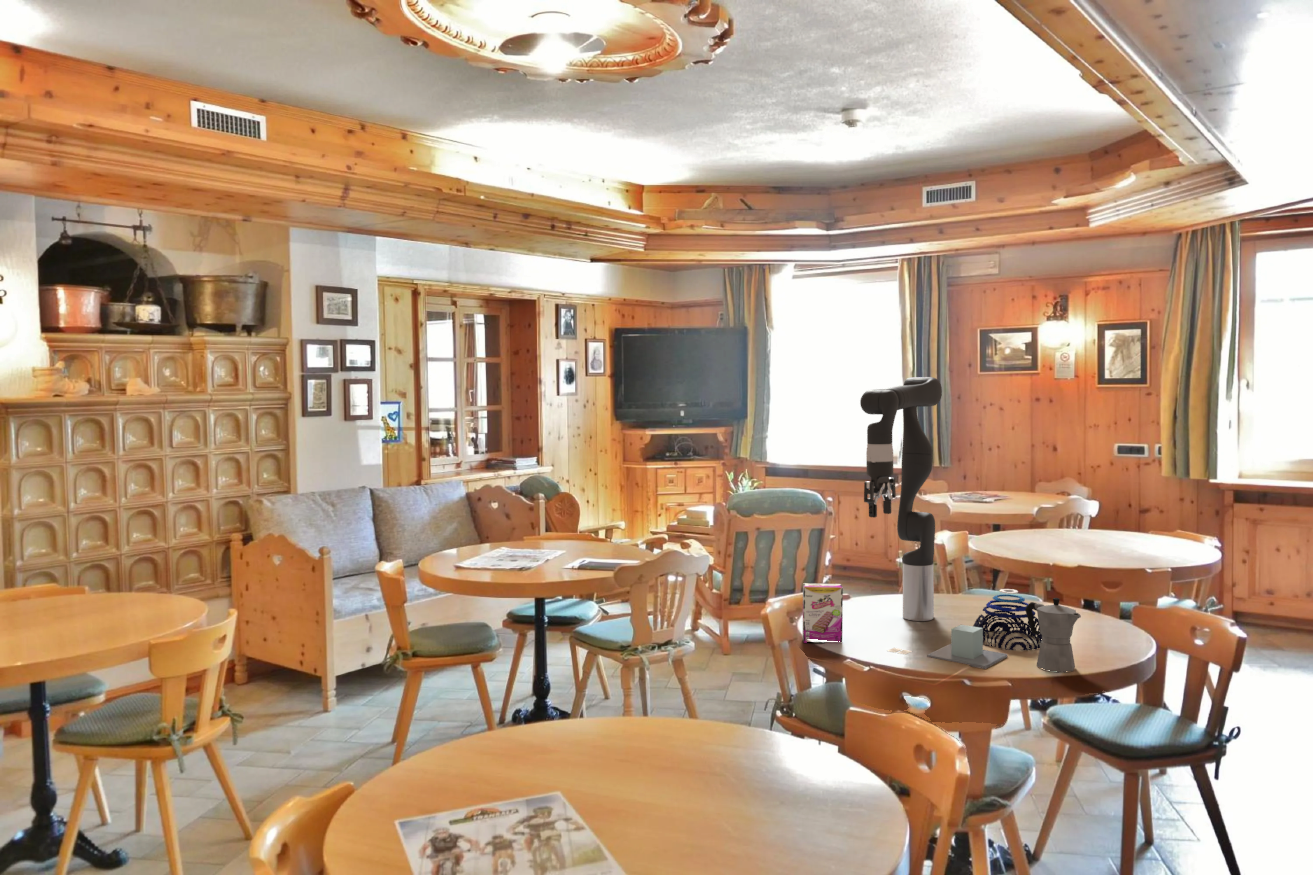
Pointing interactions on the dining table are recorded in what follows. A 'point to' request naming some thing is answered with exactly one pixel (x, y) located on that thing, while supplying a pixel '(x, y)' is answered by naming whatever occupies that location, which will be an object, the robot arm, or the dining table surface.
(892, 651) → the brown coaster
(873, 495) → the robot arm
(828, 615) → the candy bar box
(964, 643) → the pale green block
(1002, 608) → the decorative bowl
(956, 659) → the slate plate
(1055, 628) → the coffeepot
